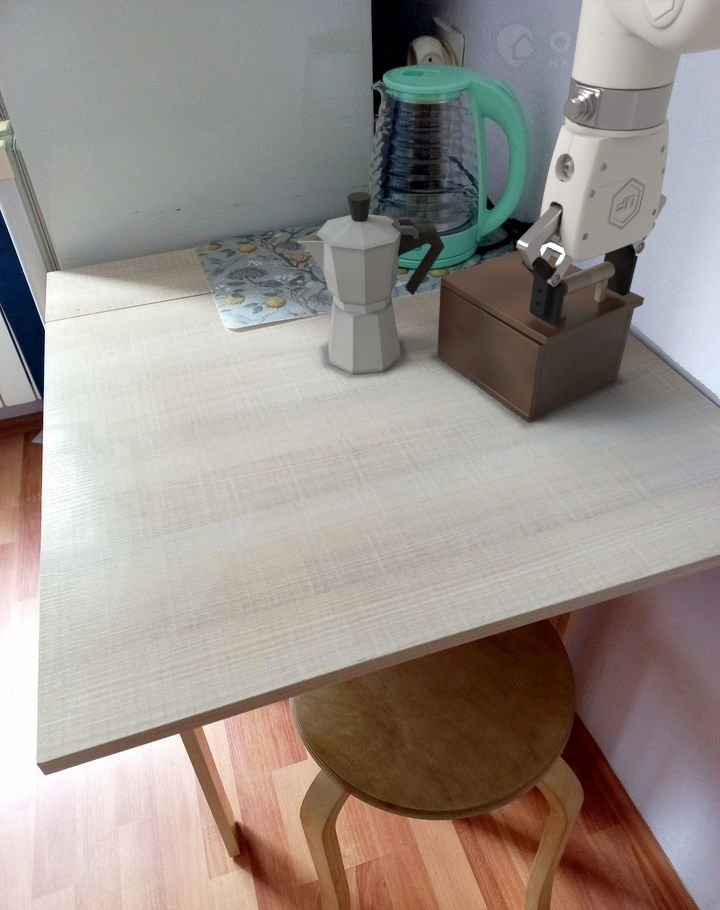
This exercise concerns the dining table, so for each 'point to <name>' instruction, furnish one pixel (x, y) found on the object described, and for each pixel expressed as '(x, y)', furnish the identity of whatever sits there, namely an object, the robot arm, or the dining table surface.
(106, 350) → the dining table surface
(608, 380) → the wooden trinket chest
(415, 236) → the coffee maker
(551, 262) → the lid
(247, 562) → the dining table surface
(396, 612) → the dining table surface
